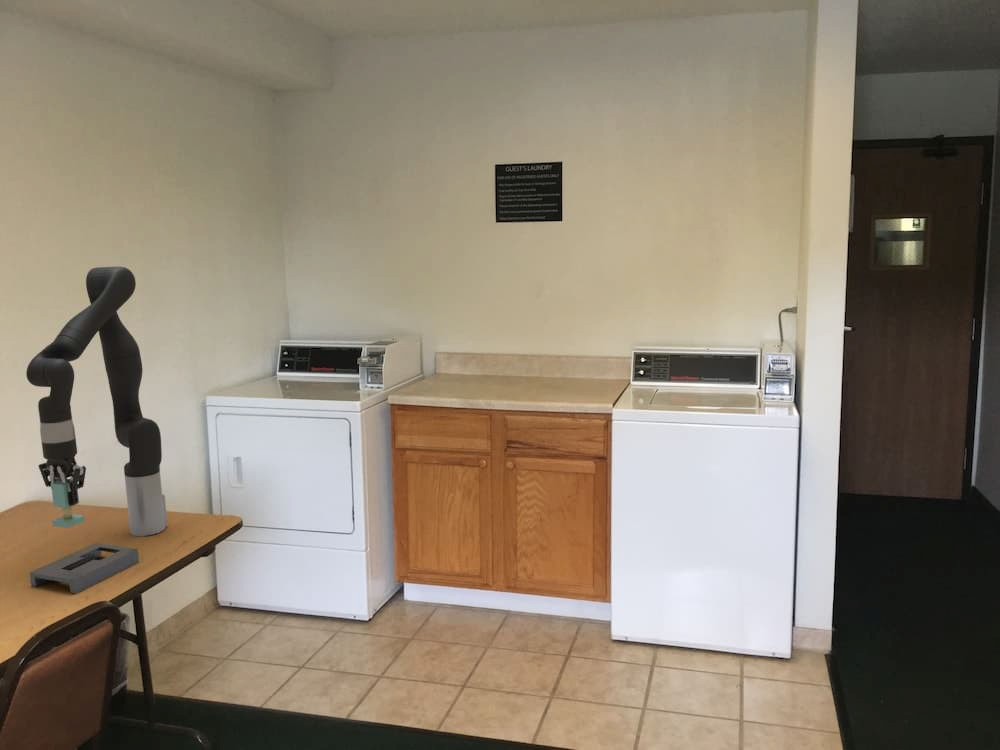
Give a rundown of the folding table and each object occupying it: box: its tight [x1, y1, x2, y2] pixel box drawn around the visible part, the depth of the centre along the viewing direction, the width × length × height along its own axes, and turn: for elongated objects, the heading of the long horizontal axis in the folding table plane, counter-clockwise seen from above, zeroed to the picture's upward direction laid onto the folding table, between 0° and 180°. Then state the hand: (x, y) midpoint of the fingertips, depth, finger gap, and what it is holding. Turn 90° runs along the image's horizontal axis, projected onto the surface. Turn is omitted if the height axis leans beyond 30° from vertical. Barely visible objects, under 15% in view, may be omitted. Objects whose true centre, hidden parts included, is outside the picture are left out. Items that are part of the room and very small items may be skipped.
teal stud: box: [50, 480, 85, 529], centre depth 206 cm, size 5×5×11 cm
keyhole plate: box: [29, 542, 140, 595], centre depth 205 cm, size 20×14×4 cm
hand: (66, 503), depth 207 cm, fingers closed on teal stud, 4 cm apart
